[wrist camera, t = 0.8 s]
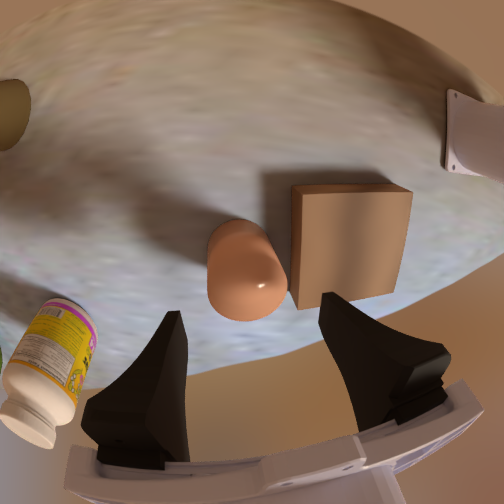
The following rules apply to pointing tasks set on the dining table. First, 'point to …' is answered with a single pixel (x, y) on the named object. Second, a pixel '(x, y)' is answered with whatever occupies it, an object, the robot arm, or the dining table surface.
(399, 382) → the robot arm
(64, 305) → the supplement bottle
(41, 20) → the dining table surface
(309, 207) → the walnut board
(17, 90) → the cork
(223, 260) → the tan rounded cylinder
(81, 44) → the dining table surface
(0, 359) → the fruit
